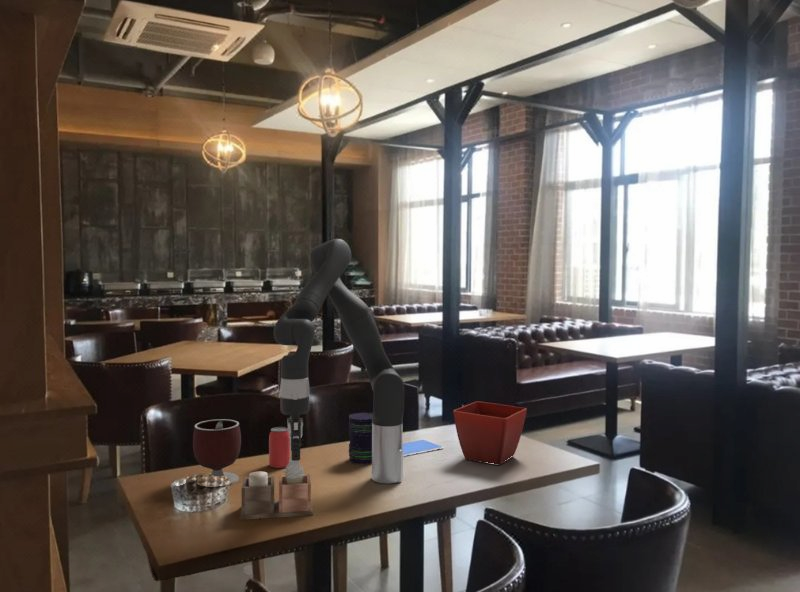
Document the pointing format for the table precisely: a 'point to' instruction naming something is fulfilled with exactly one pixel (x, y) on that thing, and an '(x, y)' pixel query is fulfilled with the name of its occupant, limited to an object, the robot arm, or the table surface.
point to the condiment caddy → (262, 501)
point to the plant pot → (489, 430)
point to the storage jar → (360, 438)
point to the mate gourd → (217, 445)
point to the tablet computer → (418, 447)
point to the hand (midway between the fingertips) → (295, 455)
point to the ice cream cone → (294, 472)
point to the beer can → (279, 447)
